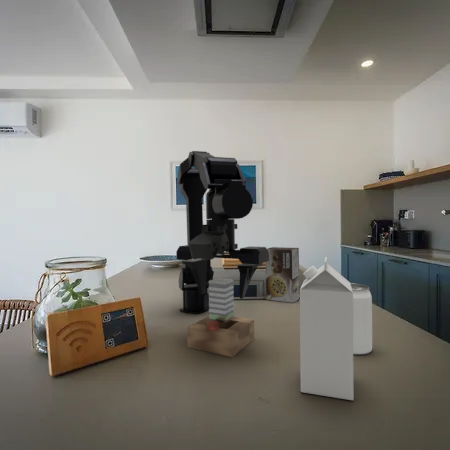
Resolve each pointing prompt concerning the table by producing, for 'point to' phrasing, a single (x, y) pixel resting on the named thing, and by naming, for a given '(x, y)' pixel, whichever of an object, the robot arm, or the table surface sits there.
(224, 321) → the ratchet post
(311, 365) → the milk carton
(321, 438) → the table surface
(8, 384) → the table surface
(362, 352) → the can
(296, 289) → the coffee box
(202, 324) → the tan stand block
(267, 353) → the table surface
